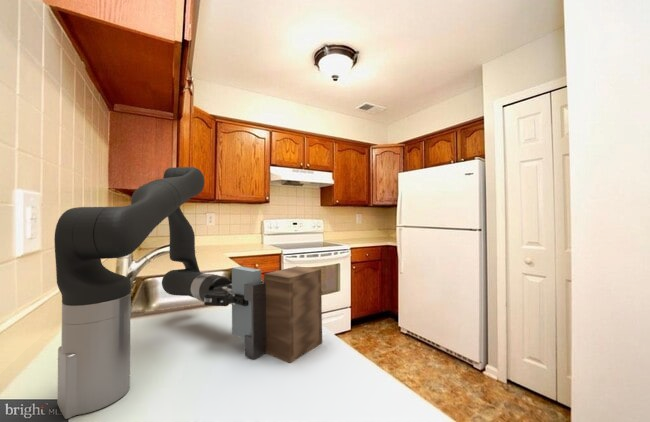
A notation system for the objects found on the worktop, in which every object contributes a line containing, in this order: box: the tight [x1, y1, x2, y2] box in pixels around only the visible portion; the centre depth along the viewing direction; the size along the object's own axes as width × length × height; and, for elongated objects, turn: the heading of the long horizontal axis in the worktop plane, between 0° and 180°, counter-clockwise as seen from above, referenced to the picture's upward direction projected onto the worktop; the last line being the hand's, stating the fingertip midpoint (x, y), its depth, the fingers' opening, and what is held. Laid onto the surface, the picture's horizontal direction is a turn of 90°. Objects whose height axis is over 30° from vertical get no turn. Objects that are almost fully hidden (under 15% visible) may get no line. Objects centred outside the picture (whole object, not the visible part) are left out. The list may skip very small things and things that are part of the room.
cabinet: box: [263, 265, 323, 364], centre depth 64 cm, size 11×8×18 cm
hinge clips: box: [244, 280, 267, 361], centre depth 61 cm, size 5×3×16 cm
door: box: [231, 266, 262, 340], centre depth 64 cm, size 2×8×16 cm, turn 53°
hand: (252, 299), depth 63 cm, fingers closed on door, 2 cm apart
